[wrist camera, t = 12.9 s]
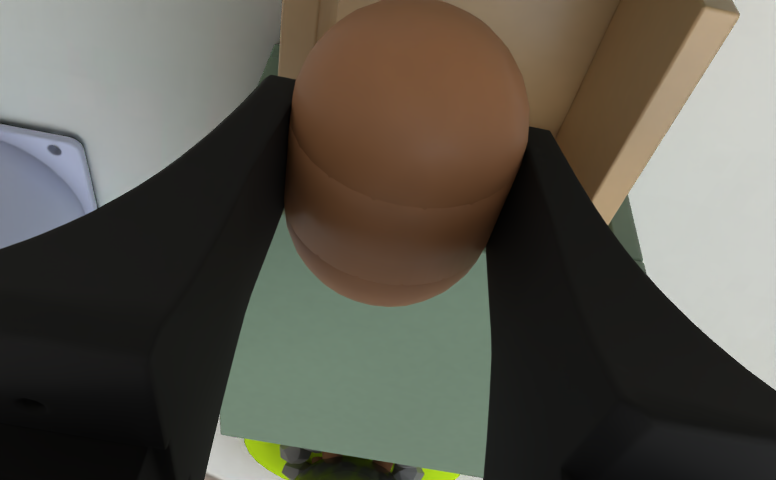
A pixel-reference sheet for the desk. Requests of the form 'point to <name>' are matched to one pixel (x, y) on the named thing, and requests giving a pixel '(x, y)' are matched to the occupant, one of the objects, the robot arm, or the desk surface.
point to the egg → (402, 149)
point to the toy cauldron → (333, 465)
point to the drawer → (577, 71)
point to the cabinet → (368, 364)
